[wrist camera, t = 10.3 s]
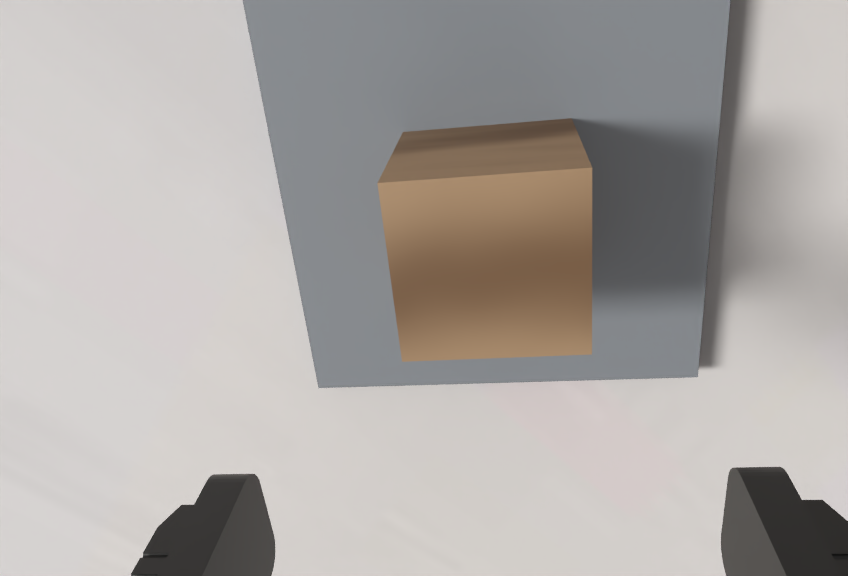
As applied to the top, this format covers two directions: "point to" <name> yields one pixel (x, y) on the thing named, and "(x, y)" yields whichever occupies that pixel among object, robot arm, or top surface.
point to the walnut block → (490, 241)
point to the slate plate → (488, 105)
